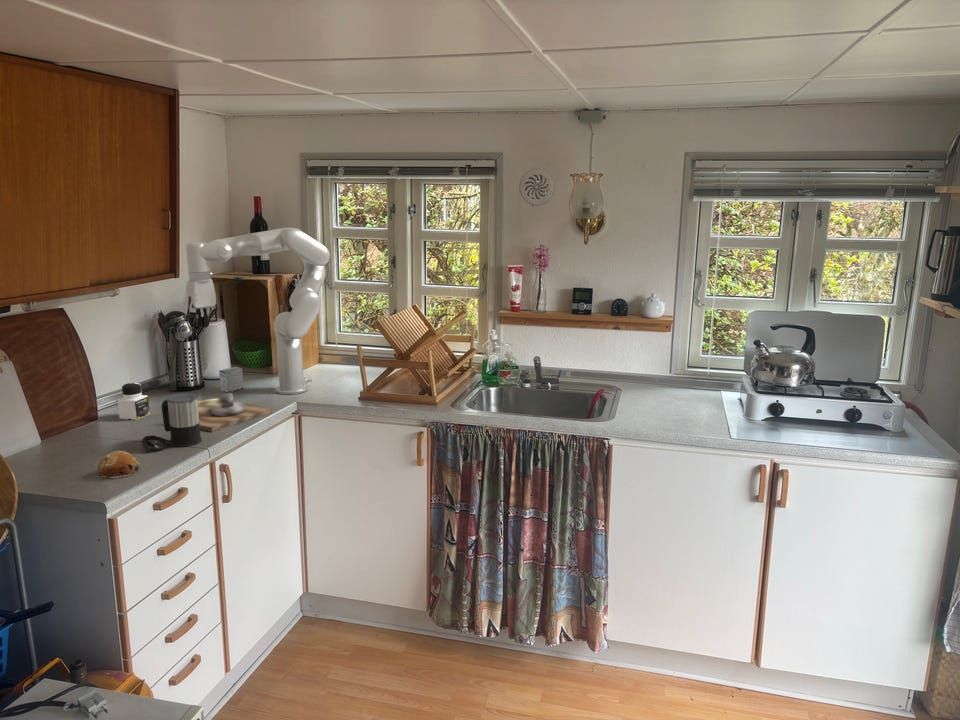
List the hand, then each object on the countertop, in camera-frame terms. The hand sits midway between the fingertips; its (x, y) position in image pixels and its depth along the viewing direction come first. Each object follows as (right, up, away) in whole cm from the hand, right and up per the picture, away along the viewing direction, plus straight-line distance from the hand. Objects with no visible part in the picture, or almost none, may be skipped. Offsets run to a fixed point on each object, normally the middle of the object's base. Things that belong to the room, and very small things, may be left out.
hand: (204, 326), depth 267 cm
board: (+11, -32, -13) cm, 36 cm away
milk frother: (+6, -39, -42) cm, 57 cm away
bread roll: (+1, -44, -64) cm, 78 cm away
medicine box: (+2, -25, +25) cm, 35 cm away
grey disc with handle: (+9, -31, -14) cm, 35 cm away
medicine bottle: (-20, -33, -12) cm, 40 cm away
